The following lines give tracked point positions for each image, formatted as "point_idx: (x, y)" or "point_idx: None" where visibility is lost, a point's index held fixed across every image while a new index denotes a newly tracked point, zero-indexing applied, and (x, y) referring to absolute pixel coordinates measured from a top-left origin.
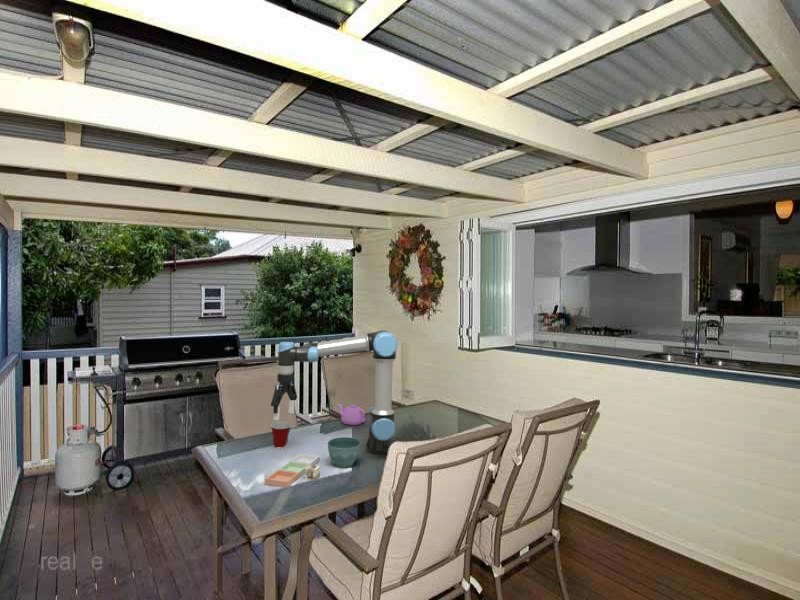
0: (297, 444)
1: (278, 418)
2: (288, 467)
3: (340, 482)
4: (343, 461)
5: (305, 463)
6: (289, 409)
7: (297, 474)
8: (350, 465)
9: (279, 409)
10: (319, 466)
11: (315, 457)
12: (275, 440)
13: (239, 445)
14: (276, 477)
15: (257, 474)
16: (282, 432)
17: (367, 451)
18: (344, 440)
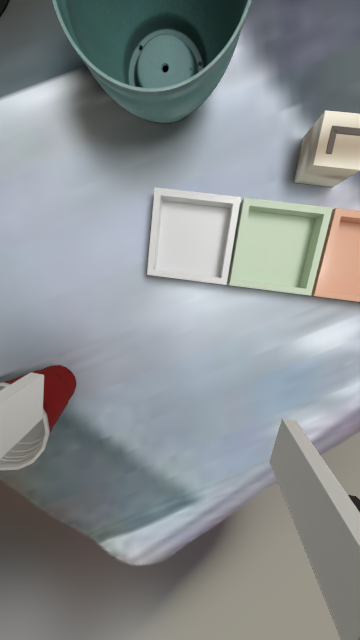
0: (25, 332)
1: (302, 431)
2: (246, 280)
3: (350, 27)
4: (224, 29)
5: (237, 218)
6: (18, 431)
7: (345, 210)
8: (188, 31)
9: (344, 520)
10: (330, 112)
11: (160, 206)
12: (66, 402)
13: (92, 489)
14: (332, 287)
15: (303, 356)
16: (45, 395)
17: (3, 6)
18: (69, 20)
